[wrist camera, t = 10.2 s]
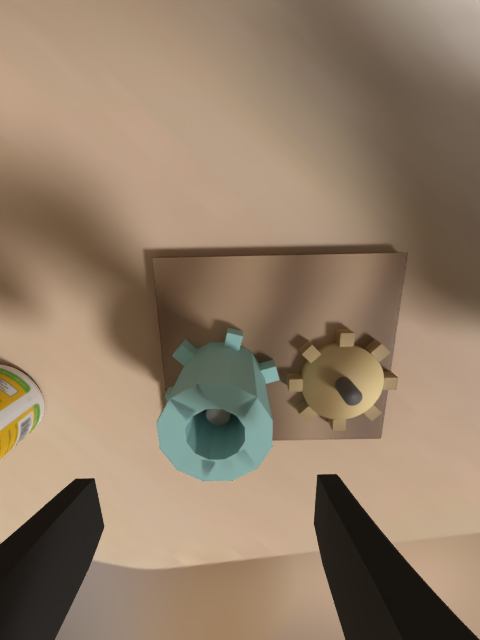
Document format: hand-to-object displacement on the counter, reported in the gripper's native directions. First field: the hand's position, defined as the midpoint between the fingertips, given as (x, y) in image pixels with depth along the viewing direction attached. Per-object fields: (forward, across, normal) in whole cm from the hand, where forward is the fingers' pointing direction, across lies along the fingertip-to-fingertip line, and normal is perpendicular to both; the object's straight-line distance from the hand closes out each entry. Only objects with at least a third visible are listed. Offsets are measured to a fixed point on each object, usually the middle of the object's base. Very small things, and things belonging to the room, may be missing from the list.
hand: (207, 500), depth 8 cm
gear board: (+9, -3, -2) cm, 10 cm away
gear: (+8, 0, 0) cm, 8 cm away
